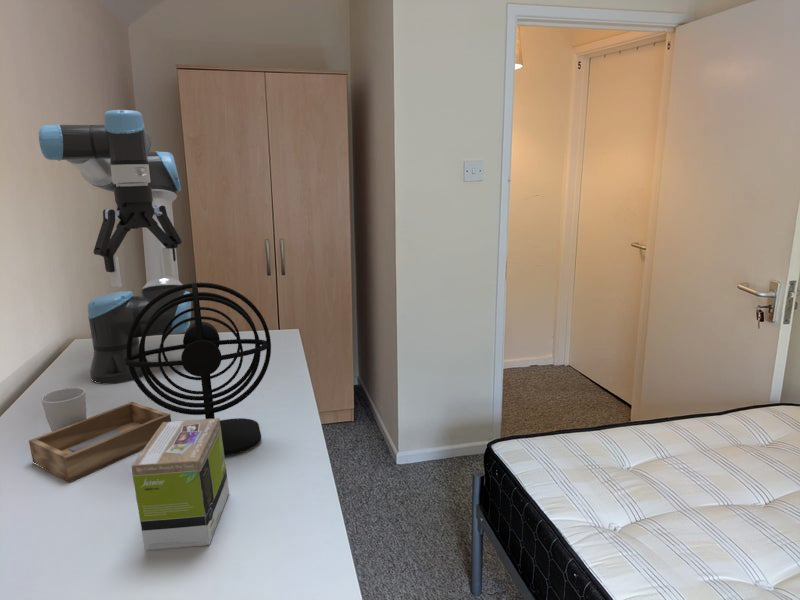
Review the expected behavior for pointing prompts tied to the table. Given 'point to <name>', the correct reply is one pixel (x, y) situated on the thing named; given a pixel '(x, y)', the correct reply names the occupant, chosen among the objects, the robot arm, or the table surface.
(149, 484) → the tea box
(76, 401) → the cup
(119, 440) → the wooden box
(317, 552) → the table surface
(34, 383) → the table surface
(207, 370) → the desk fan
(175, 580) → the table surface
